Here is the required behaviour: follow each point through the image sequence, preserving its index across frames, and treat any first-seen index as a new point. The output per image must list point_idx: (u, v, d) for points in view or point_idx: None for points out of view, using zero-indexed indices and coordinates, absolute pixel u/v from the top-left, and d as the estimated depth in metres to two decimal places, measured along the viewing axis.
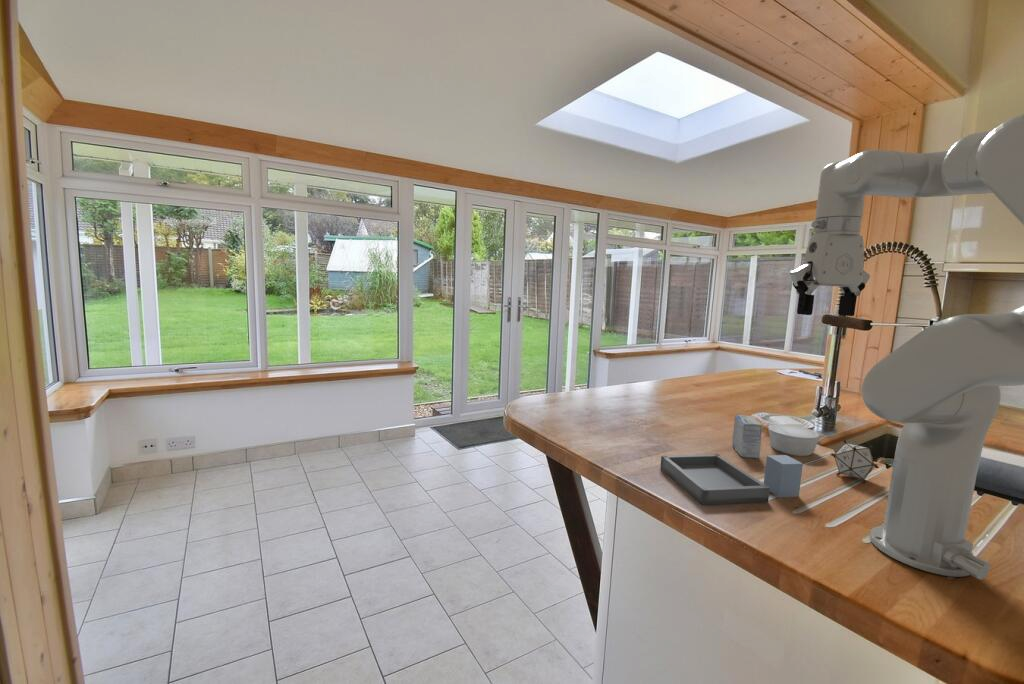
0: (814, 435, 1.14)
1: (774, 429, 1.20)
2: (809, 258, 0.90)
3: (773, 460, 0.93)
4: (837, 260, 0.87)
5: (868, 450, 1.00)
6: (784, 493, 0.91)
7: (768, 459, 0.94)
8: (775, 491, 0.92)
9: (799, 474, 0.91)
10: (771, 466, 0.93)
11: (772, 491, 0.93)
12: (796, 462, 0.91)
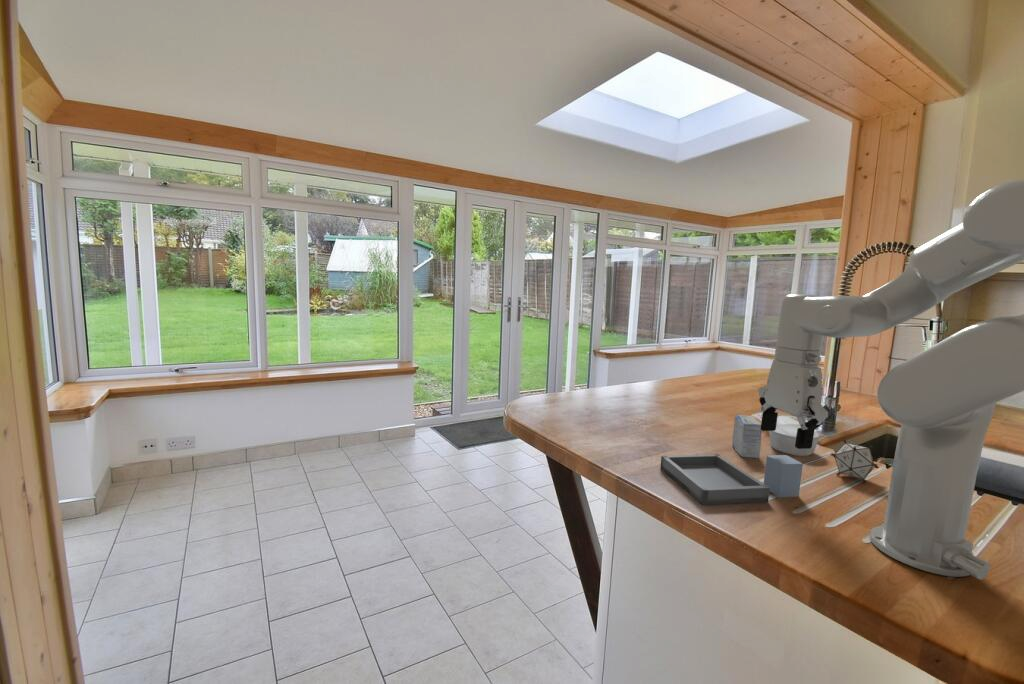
0: (814, 435, 1.14)
1: None
2: (809, 393, 0.86)
3: (773, 460, 0.93)
4: None
5: (868, 450, 1.00)
6: (784, 493, 0.91)
7: (768, 459, 0.94)
8: (775, 491, 0.92)
9: (799, 474, 0.91)
10: (771, 466, 0.93)
11: (772, 491, 0.93)
12: (796, 462, 0.91)
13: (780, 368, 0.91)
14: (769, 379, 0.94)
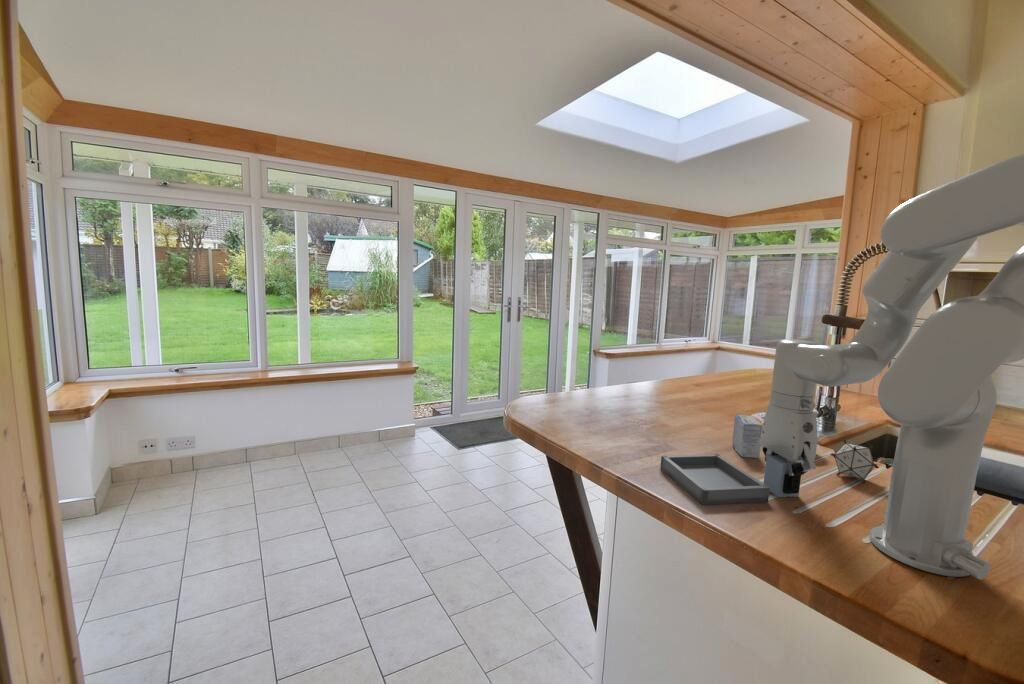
0: None
1: None
2: (805, 438, 0.87)
3: (773, 460, 0.93)
4: None
5: (868, 450, 1.00)
6: (784, 493, 0.91)
7: (768, 459, 0.94)
8: (775, 491, 0.92)
9: None
10: (771, 465, 0.93)
11: (772, 491, 0.93)
12: None
13: (776, 412, 0.92)
14: (765, 422, 0.95)
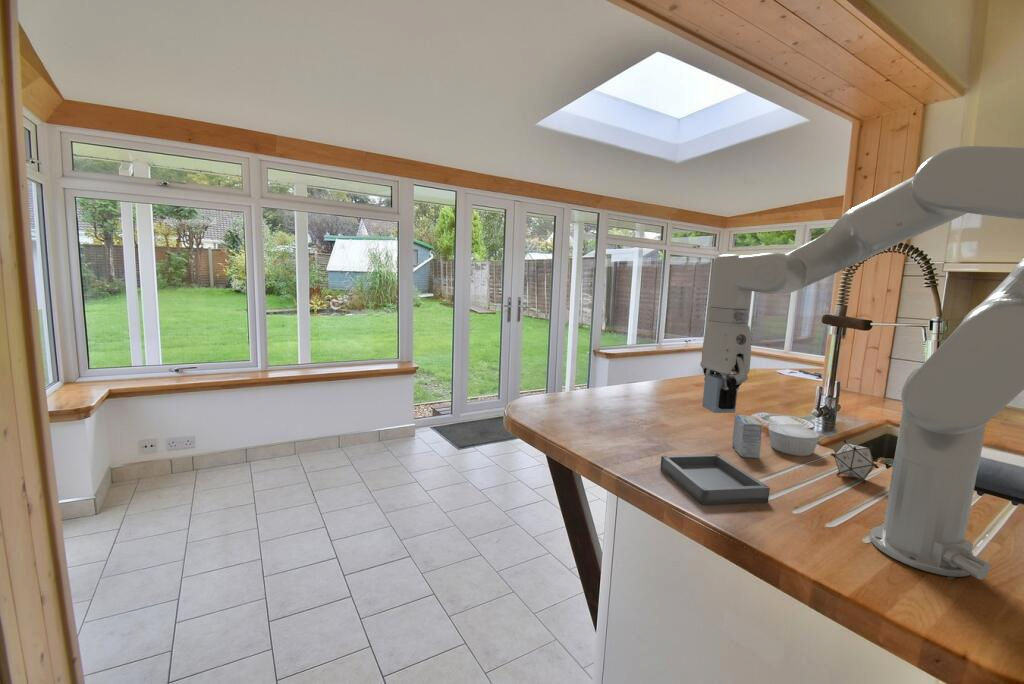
0: (814, 435, 1.14)
1: (774, 429, 1.20)
2: (738, 350, 0.87)
3: (710, 377, 0.93)
4: None
5: (868, 450, 1.00)
6: (720, 409, 0.91)
7: (706, 377, 0.94)
8: (712, 407, 0.92)
9: None
10: (709, 383, 0.93)
11: (709, 408, 0.93)
12: (732, 378, 0.92)
13: (713, 328, 0.92)
14: (704, 341, 0.95)
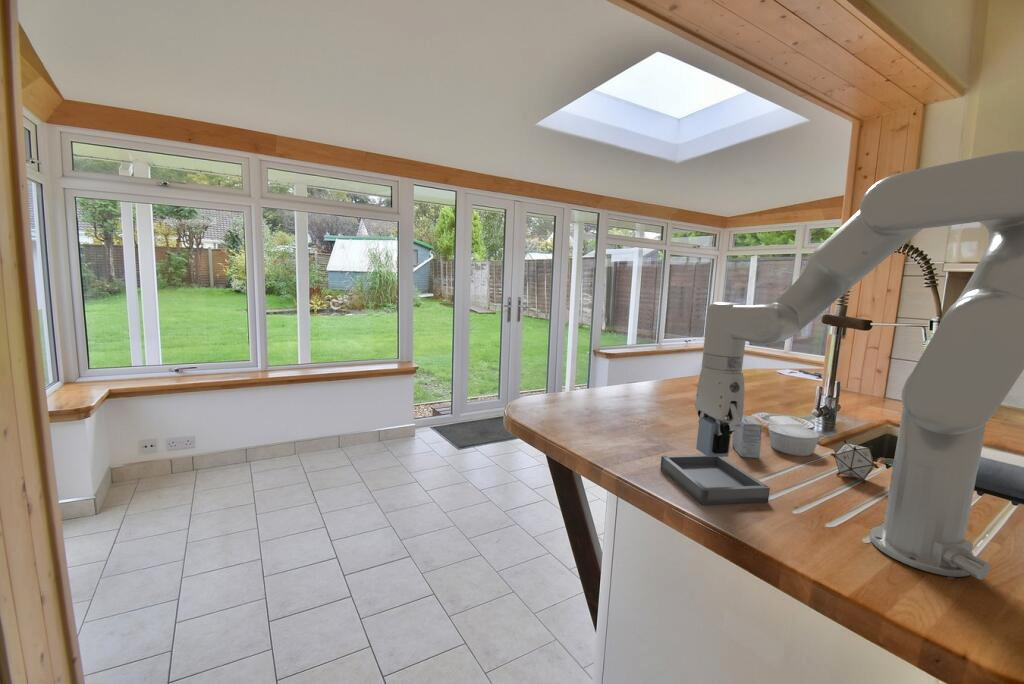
0: (814, 435, 1.14)
1: (774, 429, 1.20)
2: (731, 398, 0.89)
3: (704, 421, 0.94)
4: None
5: (868, 450, 1.00)
6: (713, 453, 0.93)
7: (700, 420, 0.96)
8: (705, 451, 0.94)
9: None
10: (703, 427, 0.95)
11: (703, 451, 0.95)
12: None
13: (707, 374, 0.93)
14: (699, 385, 0.97)
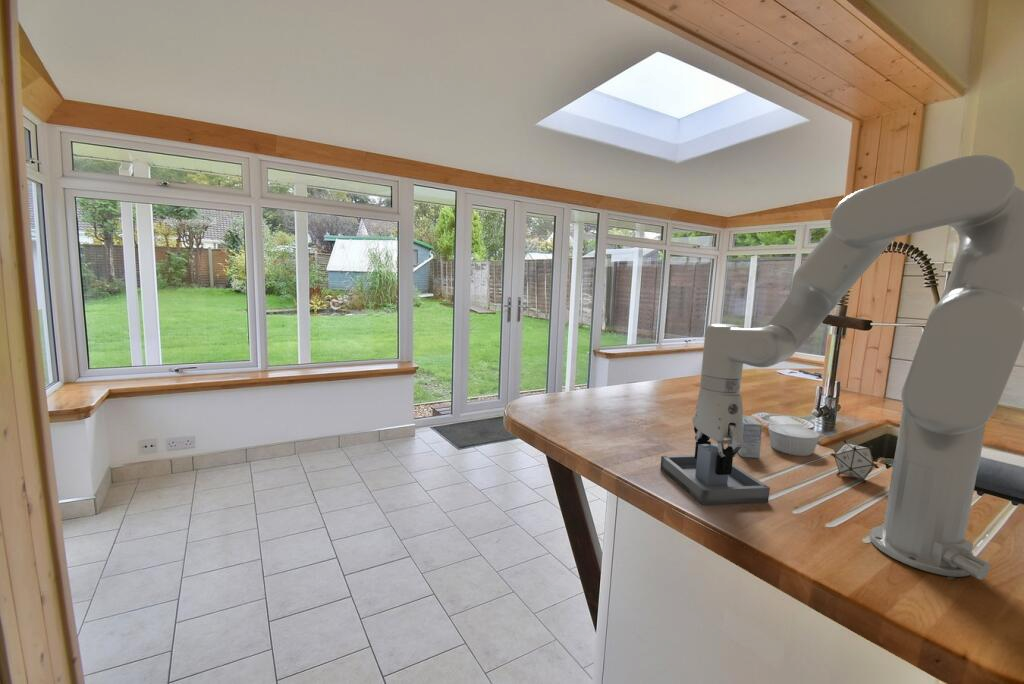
0: (814, 435, 1.14)
1: (774, 429, 1.20)
2: (730, 420, 0.89)
3: (703, 448, 0.95)
4: None
5: (868, 450, 1.00)
6: (713, 480, 0.93)
7: (699, 448, 0.96)
8: (704, 479, 0.94)
9: None
10: (702, 454, 0.95)
11: (702, 479, 0.95)
12: None
13: (705, 395, 0.94)
14: (697, 405, 0.97)
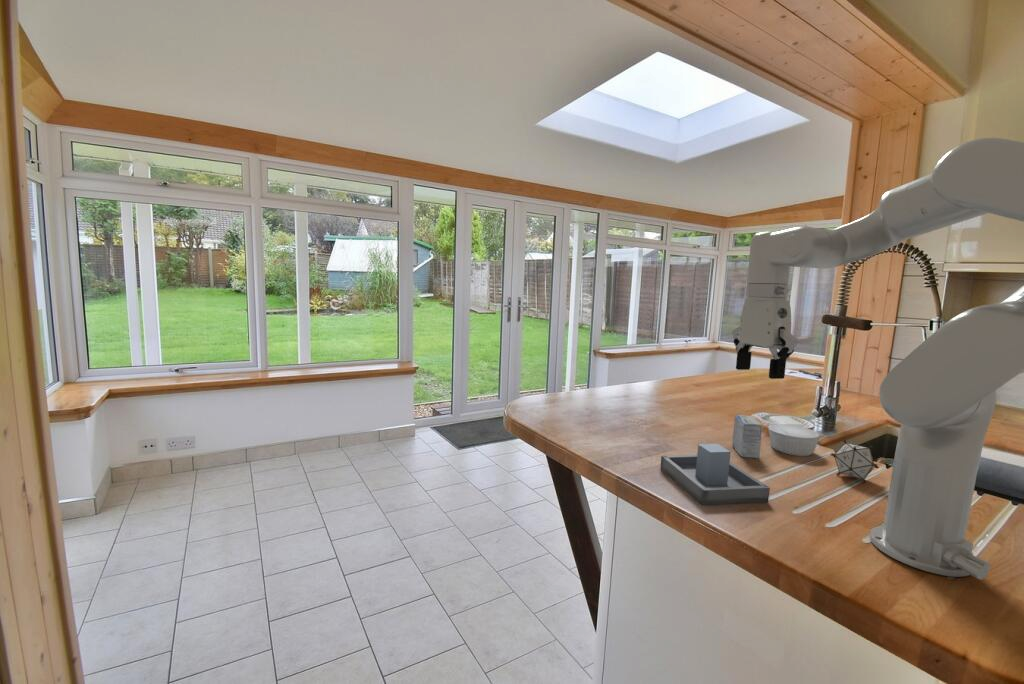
0: (814, 435, 1.14)
1: (774, 429, 1.20)
2: (780, 324, 0.90)
3: (703, 448, 0.95)
4: None
5: (868, 450, 1.00)
6: (713, 480, 0.93)
7: (699, 448, 0.96)
8: (704, 479, 0.94)
9: (727, 462, 0.93)
10: (702, 454, 0.95)
11: (702, 479, 0.95)
12: (724, 450, 0.94)
13: (752, 304, 0.95)
14: (742, 318, 0.98)
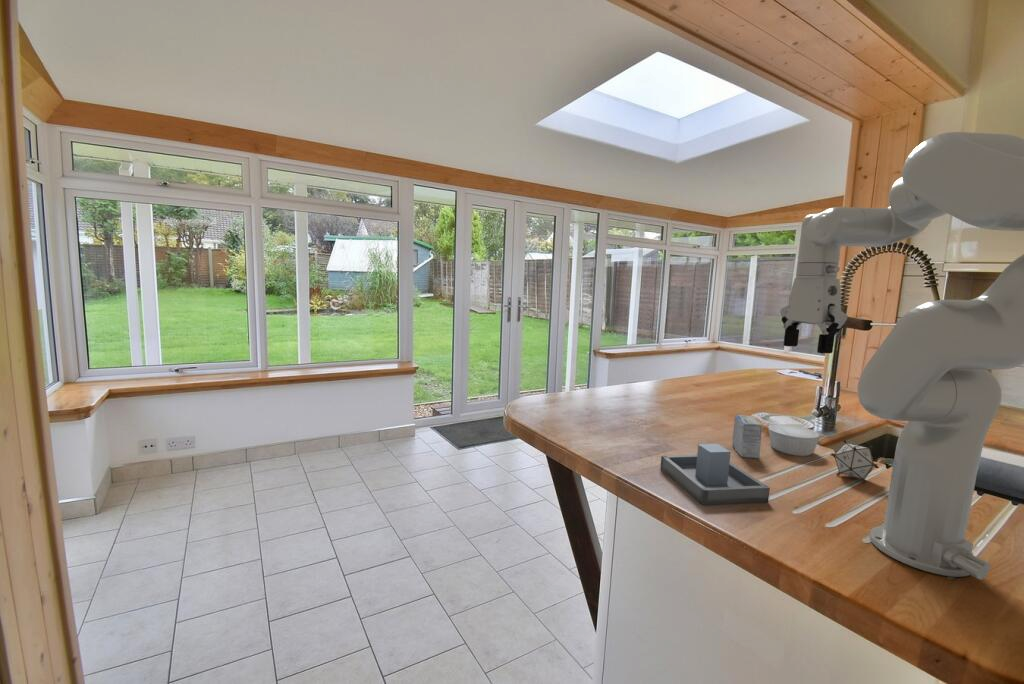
0: (814, 435, 1.14)
1: (774, 429, 1.20)
2: (830, 301, 0.95)
3: (703, 448, 0.95)
4: None
5: (868, 450, 1.00)
6: (713, 480, 0.93)
7: (699, 448, 0.96)
8: (704, 479, 0.94)
9: (727, 462, 0.93)
10: (702, 454, 0.95)
11: (702, 479, 0.95)
12: (724, 450, 0.94)
13: (802, 283, 1.00)
14: (791, 296, 1.03)
